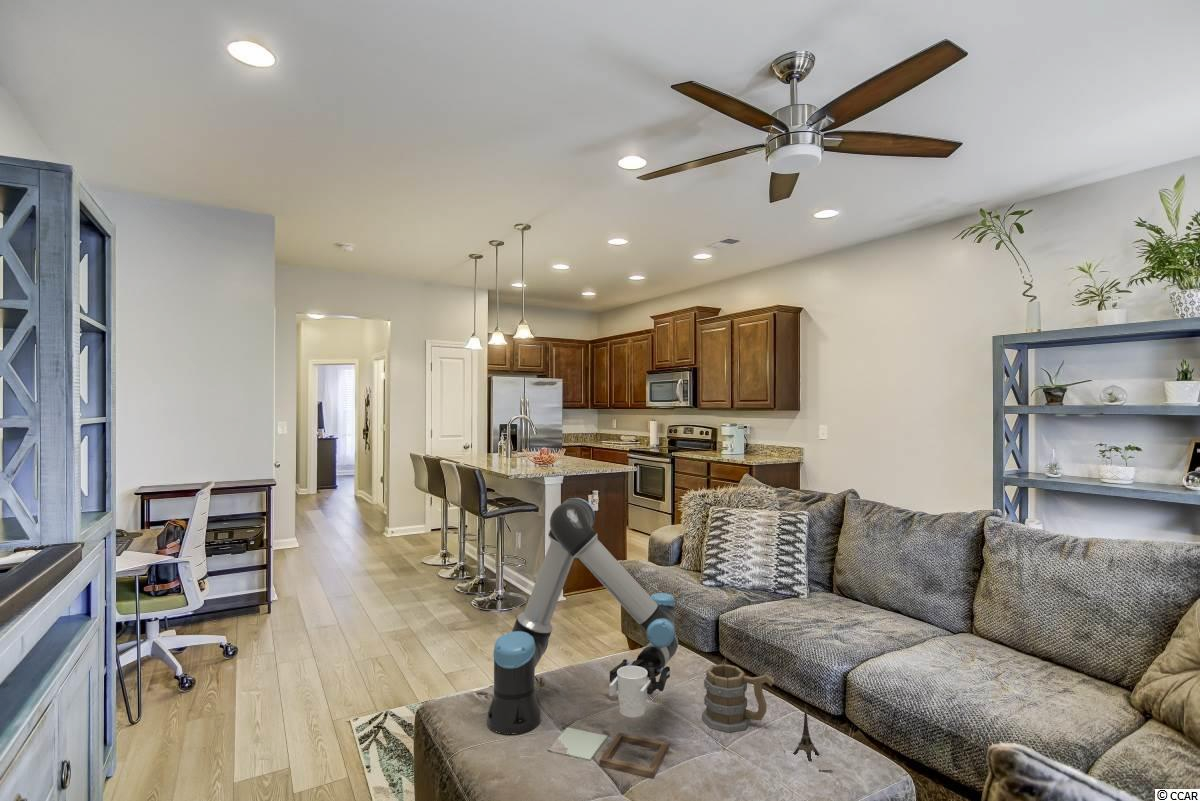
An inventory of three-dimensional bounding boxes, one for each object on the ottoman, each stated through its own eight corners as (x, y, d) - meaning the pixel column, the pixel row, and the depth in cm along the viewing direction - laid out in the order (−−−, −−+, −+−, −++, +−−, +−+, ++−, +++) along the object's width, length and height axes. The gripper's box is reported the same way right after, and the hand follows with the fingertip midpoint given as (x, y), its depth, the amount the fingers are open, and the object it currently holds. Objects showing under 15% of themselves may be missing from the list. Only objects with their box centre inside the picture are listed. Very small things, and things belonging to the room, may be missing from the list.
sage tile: (547, 751, 152) (547, 749, 152) (567, 728, 163) (567, 727, 163) (589, 761, 147) (589, 759, 147) (607, 737, 159) (607, 735, 159)
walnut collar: (599, 765, 145) (599, 759, 145) (618, 737, 158) (618, 732, 158) (653, 778, 140) (653, 772, 140) (668, 748, 153) (668, 742, 153)
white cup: (631, 700, 156) (631, 662, 156) (653, 711, 150) (653, 672, 150) (610, 711, 150) (610, 671, 150) (633, 722, 144) (633, 681, 145)
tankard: (697, 725, 165) (697, 671, 166) (711, 706, 176) (710, 655, 177) (769, 743, 156) (768, 686, 156) (778, 722, 167) (778, 668, 167)
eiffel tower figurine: (777, 740, 158) (776, 690, 159) (815, 741, 158) (814, 691, 158) (792, 773, 143) (791, 718, 144) (834, 774, 143) (833, 719, 143)
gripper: (687, 678, 163) (665, 716, 142) (619, 667, 171) (588, 701, 149) (687, 651, 163) (665, 685, 142) (619, 641, 171) (588, 671, 150)
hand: (625, 693), depth 146 cm, fingers closed on white cup, 7 cm apart
